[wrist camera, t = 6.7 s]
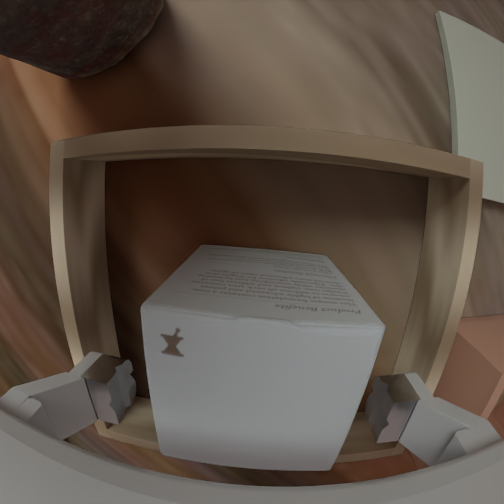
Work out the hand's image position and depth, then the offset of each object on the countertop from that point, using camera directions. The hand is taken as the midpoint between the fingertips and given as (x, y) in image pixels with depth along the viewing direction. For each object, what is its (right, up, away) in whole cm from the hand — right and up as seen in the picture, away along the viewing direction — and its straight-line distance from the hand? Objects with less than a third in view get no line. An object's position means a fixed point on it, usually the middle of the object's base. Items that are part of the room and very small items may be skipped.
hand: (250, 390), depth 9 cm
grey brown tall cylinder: (-8, +17, +3) cm, 19 cm away
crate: (0, +2, +5) cm, 6 cm away
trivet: (+16, +13, +2) cm, 20 cm away
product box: (0, +2, +6) cm, 6 cm away
